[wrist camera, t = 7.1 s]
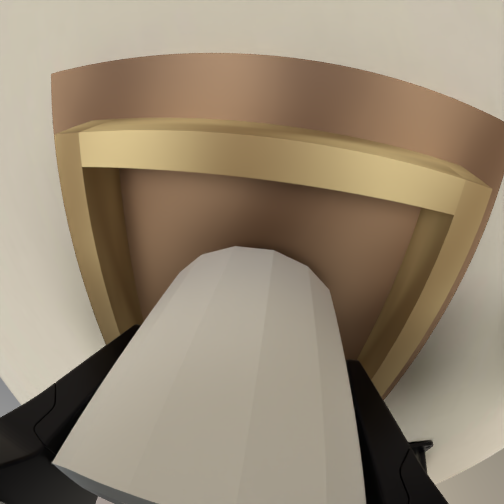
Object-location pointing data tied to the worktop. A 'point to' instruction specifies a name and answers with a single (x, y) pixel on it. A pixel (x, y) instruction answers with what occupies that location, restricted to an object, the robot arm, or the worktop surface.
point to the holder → (276, 186)
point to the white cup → (226, 395)
